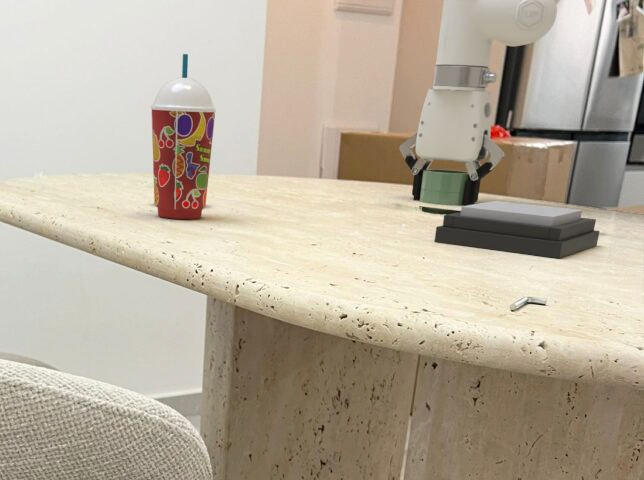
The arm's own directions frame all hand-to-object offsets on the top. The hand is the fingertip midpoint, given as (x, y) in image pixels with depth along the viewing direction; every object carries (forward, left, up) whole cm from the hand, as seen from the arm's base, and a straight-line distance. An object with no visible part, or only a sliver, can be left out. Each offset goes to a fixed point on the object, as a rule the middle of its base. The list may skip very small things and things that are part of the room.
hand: (443, 203), depth 144 cm
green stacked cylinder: (0, 0, -1) cm, 1 cm away
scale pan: (+24, +20, +1) cm, 31 cm away
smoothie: (+40, -20, -1) cm, 45 cm away
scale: (+24, +20, -1) cm, 31 cm away
